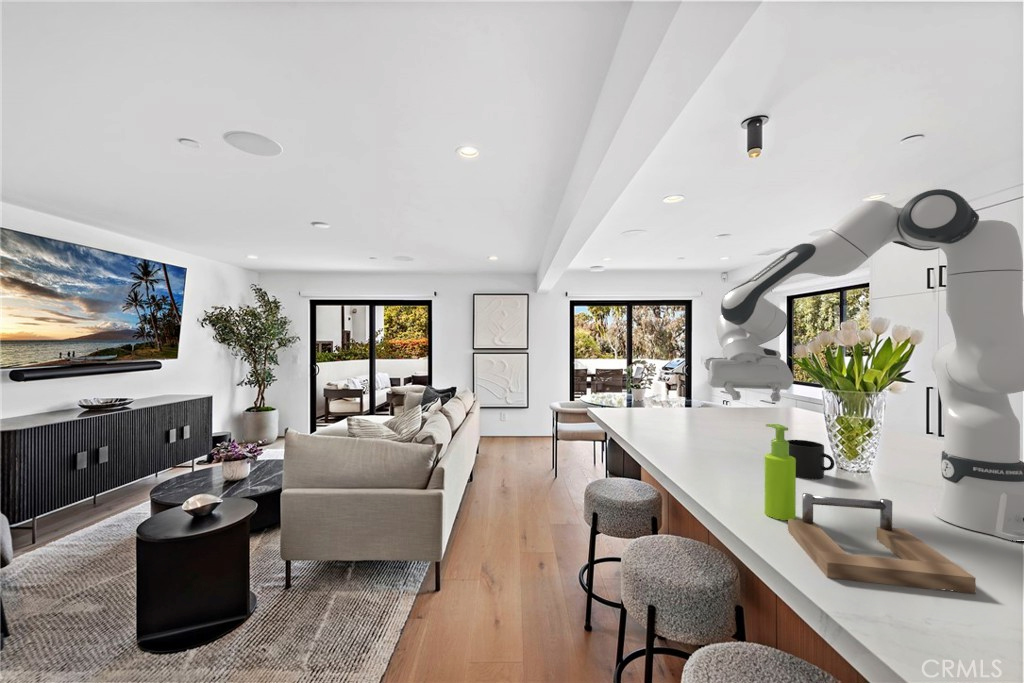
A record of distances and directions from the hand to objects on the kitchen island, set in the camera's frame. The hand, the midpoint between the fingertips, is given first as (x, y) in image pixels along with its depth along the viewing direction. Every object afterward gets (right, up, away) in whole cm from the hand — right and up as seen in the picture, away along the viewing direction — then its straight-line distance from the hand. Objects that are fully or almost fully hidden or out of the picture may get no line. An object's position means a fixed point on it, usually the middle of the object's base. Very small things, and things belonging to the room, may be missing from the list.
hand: (756, 399), depth 112 cm
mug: (+23, -24, +15) cm, 37 cm away
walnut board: (+2, -24, -32) cm, 40 cm away
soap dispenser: (-2, -24, -13) cm, 28 cm away
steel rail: (+4, -22, -24) cm, 33 cm away
